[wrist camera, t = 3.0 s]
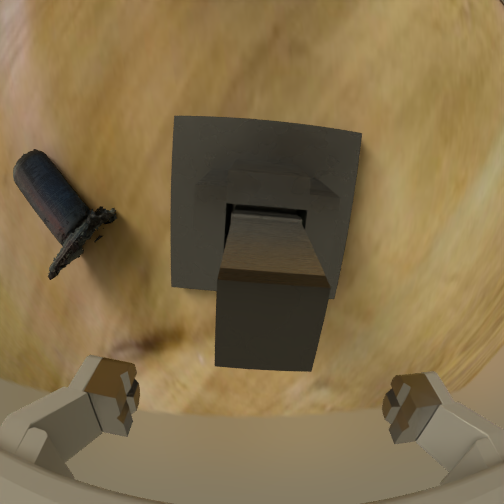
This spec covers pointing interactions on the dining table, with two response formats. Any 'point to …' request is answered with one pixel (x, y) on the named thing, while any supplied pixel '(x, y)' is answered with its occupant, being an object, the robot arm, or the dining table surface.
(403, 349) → the dining table surface
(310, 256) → the column
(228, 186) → the stand
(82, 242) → the dark flanged cylinder
